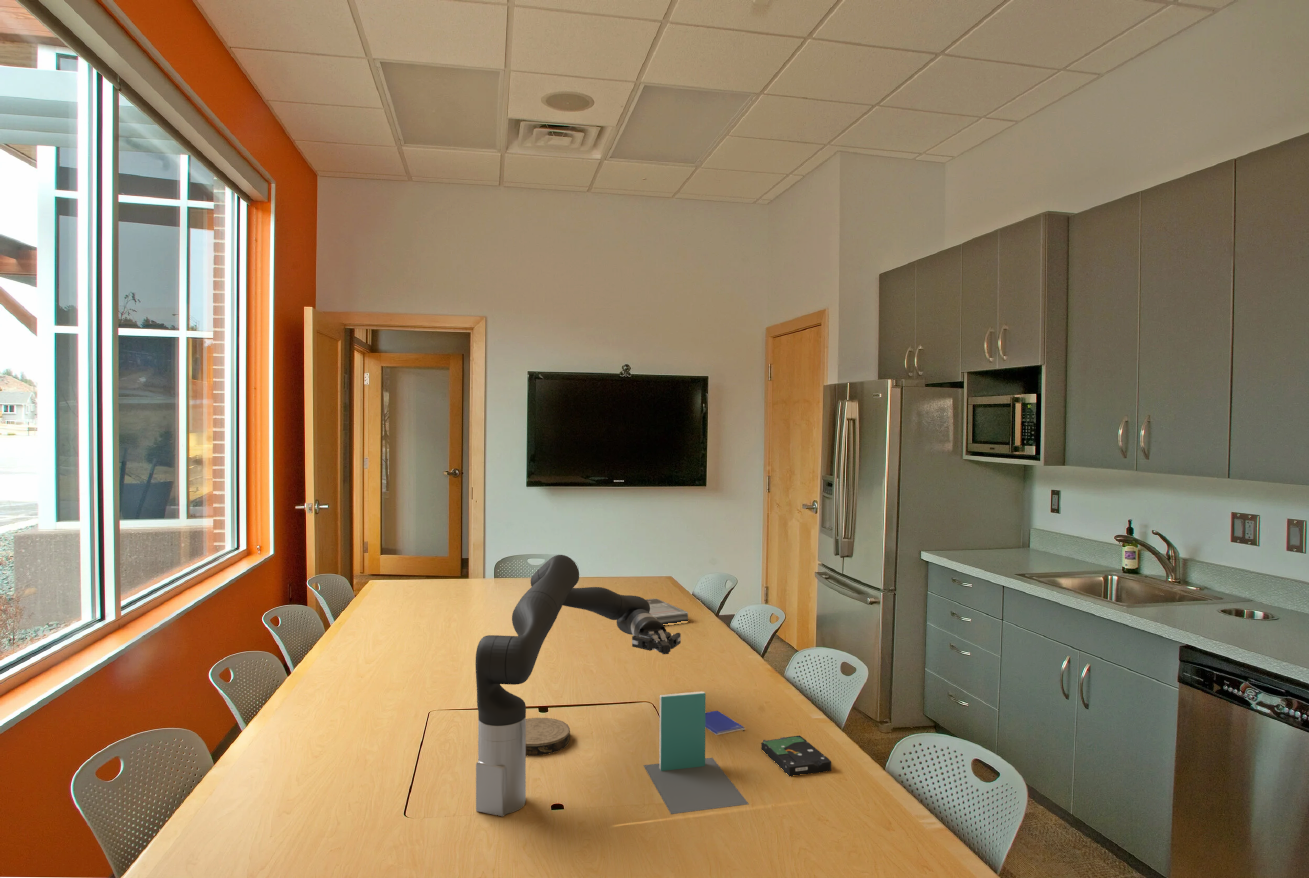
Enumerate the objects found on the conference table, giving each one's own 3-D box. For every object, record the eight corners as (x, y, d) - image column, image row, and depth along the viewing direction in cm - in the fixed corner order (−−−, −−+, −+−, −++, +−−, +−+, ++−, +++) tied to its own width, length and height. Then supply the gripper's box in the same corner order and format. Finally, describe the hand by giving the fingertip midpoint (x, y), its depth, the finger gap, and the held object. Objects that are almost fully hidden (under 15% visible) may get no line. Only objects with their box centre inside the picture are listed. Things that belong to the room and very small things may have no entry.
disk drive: (832, 773, 169) (799, 745, 183) (832, 761, 168) (800, 734, 183) (789, 780, 165) (759, 751, 180) (789, 767, 165) (760, 739, 180)
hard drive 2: (744, 726, 190) (718, 710, 201) (716, 732, 187) (691, 715, 198) (744, 733, 190) (718, 716, 202) (716, 738, 187) (691, 721, 198)
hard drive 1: (645, 629, 286) (645, 617, 286) (615, 613, 310) (615, 602, 310) (688, 624, 294) (689, 612, 294) (656, 609, 318) (656, 598, 318)
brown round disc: (571, 754, 177) (571, 741, 177) (500, 759, 174) (500, 746, 174) (568, 727, 192) (568, 715, 192) (503, 731, 190) (503, 719, 190)
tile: (659, 768, 168) (659, 695, 168) (702, 763, 171) (703, 691, 171) (661, 771, 167) (661, 697, 167) (705, 766, 170) (705, 693, 169)
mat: (643, 767, 170) (643, 765, 170) (712, 759, 174) (712, 757, 174) (670, 816, 149) (671, 814, 149) (748, 806, 153) (748, 804, 153)
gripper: (622, 617, 197) (638, 636, 180) (672, 614, 200) (693, 632, 183) (622, 647, 197) (638, 668, 180) (672, 643, 200) (692, 663, 183)
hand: (666, 650), depth 182 cm, fingers closed
